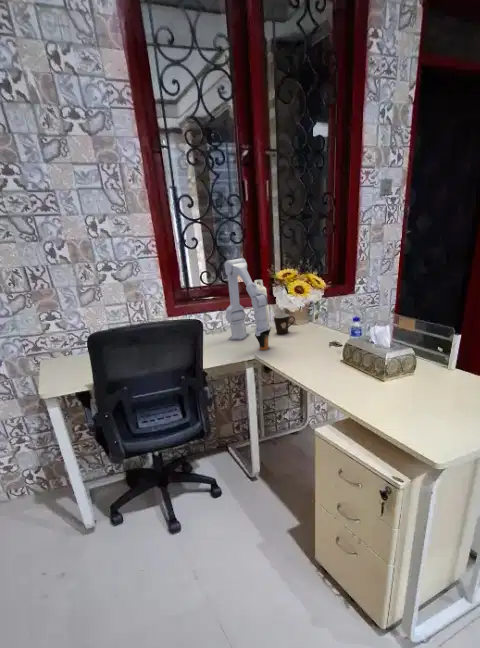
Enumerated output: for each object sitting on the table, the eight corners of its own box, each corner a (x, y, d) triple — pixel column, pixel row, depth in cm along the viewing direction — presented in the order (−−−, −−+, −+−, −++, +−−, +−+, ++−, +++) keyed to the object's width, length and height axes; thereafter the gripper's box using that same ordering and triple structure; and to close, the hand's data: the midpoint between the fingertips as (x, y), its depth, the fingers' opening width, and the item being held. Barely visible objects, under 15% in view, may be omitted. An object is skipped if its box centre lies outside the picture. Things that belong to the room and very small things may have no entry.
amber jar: (261, 347, 220) (260, 333, 216) (269, 347, 218) (268, 333, 215) (258, 350, 216) (257, 335, 212) (267, 350, 214) (265, 336, 211)
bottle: (270, 326, 253) (266, 278, 239) (268, 330, 246) (264, 281, 232) (257, 326, 254) (252, 279, 241) (255, 330, 247) (250, 282, 234)
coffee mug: (274, 335, 235) (272, 318, 231) (276, 331, 243) (274, 314, 238) (294, 334, 234) (293, 317, 229) (295, 330, 241) (294, 313, 236)
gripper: (263, 323, 202) (266, 350, 209) (273, 315, 214) (275, 340, 221) (250, 323, 205) (253, 349, 211) (260, 315, 216) (263, 340, 223)
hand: (263, 345), depth 216 cm, fingers closed on amber jar, 4 cm apart
